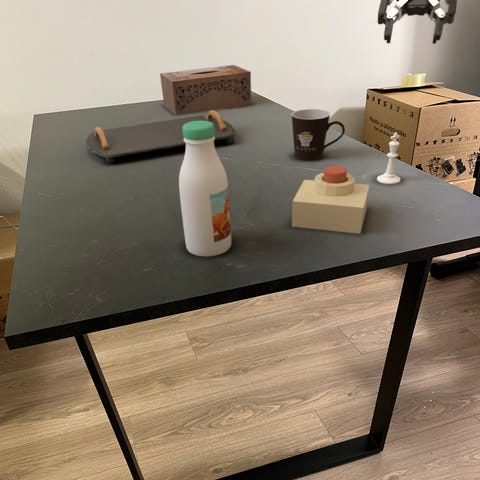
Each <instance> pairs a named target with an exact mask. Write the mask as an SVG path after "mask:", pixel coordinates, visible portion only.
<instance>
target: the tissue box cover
mask: <svg viewBox="0 0 480 480" xmlns="http://www.w3.org/2000/svg"><path fill="white" fill-rule="evenodd" d="M251 73H252V72H251V71H250V70H248V69H246V68H243V67H240V66H238V65H235V64H231V65H220V66H213V67H211V66H210V67H205V68H204V67H203V68H196V69H195V68H194V69H185V70H179V71H178V70H177V71H171V72H170V71H169V72H162V73H159V77H160V85H161V91H162V92H161V93H162V102H163V107H164V108H167V109H168V110H169V111H170V112H171V113H172V114H174V115H175V116H180V115H187V114H193V113H200V112H209V111H212V110H214V111H216V110H230V109H231V110H232V109H238V108H245V107H251V106H252V75H251Z"/></svg>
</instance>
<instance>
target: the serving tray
mask: <svg viewBox="0 0 480 480" xmlns="http://www.w3.org/2000/svg"><path fill="white" fill-rule="evenodd" d="M192 121H209V122H212V123H213V124H214V129H215V134H214V137H215V140H214V141H218V140H223V142H224V144H226V145H231V144H232V143H233V138H234V137H235V135H236V134H235V132H236V131H235V129H234V127H233V126H232V124H231V123H229V122H228V121H227V120H224V119H223V116H222V115H221V114H220V113H219V112H218V111H216V110H208V111H207V113H206V115H204V114H203V115H195V116H188V117H182V118H176V119H170V120H162V121H155V122H148V123H141V124H134V125H128V126H121V127H115V128H108V129H102V127H100V126H96V127H95V128H94V131H93V132H91V133H90V134H89V135H88V137H87V138H86V140H85V142H86V143H85V144H86V145H85V146H86V148H87V149H88V150H89V151H90V152H92V153H93V154H95V155H97V156H98V157H102V158H105V163H106V164H107V165H114V164H115V163H116V160H115V158H117V157H123V156H129V155H136V154H140V153H141V154H142V153H148V152H152V151H158V150H166V149H171V148H178V147H183V146H186V142H184V136H183V125H184V124H186V123H188V122H192Z"/></svg>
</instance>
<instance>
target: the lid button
mask: <svg viewBox="0 0 480 480" xmlns="http://www.w3.org/2000/svg"><path fill="white" fill-rule="evenodd" d="M323 173H324V176H323V181H324V182H327V183H333V184H339V183H344V182H346V177H347V174H348V169H347V167H345V166H342V165H329V166H326V167H324V169H323Z"/></svg>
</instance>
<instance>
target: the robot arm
mask: <svg viewBox="0 0 480 480" xmlns="http://www.w3.org/2000/svg"><path fill="white" fill-rule="evenodd" d="M395 1H396V3H395V5H394V7H393V8H391V10H390V11H388V13H387V10H388V7H390V6H391V4H392V3H393V2H394V0H380V1H379V2H380V3H379V6H378V11H377V24H378V25H385V26H384V31H383V41H386V44H391V42H392V35H393V30H394V24H395V23H397V22H399V21H401V19H403V18H404V16H406V15H407V16H408V17H412V16H420V17H421V16H425V15H427V17H428V18H429V19H430V21H433V23H434V24H435V25H434V30H433V35H432V41H431V42H432V44H433V45H434V44H435V45H436V44H437V41H440V40H441V39H442V36H443V35H442V34H443V30H444V25H445V24H446V25H447V24H448V25H451V24H454V22H455V17H456V13H457V4H458V0H444V3H445V5H447V11H444V10H443V8H442V6H441V3H440V1H441V0H395Z"/></svg>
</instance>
